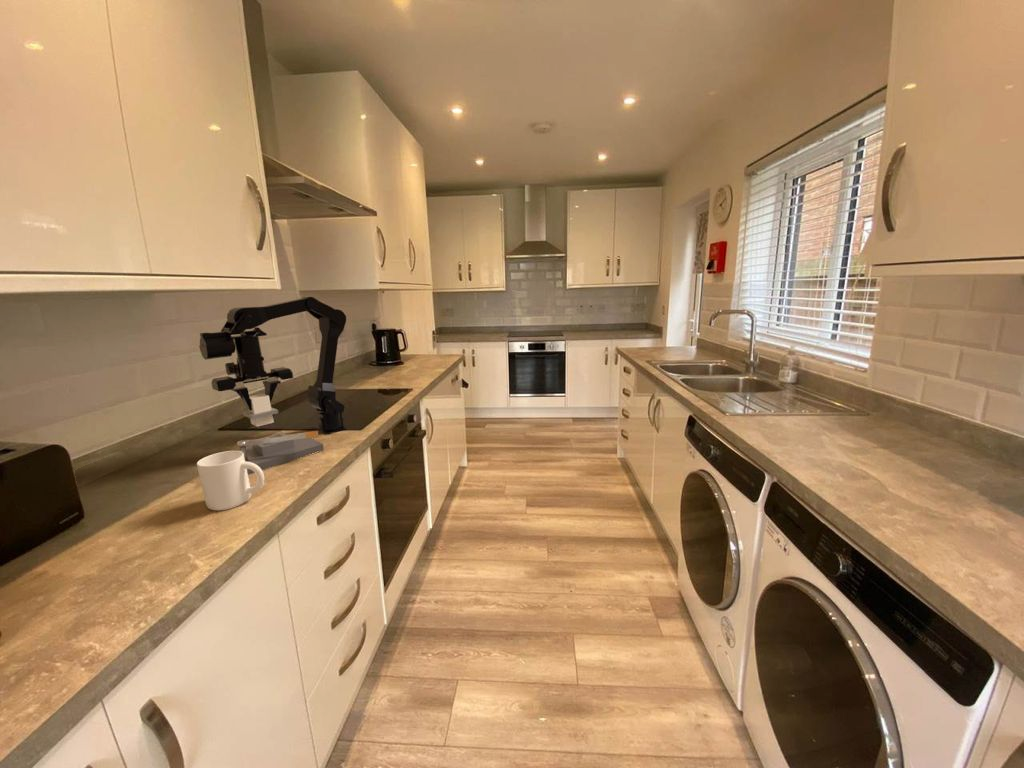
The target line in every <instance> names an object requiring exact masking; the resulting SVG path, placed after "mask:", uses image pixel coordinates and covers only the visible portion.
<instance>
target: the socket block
mask: <svg viewBox="0 0 1024 768" xmlns="http://www.w3.org/2000/svg"><path fill="white" fill-rule="evenodd" d="M282 435H287V434H285V433H283V432H280V433H279V432H278V433H274V434H272V435H268V436H265V437H263V438H267V437H275V436H282ZM238 448H239V449H238V450H237V451H241V452H243V453H244V458H245V462H252V463H254V464H256V465H258V466H259V467H260V468H261V470H262V471H265V470H267V469H270V468H269V467H271V468H273V467H272V466H274V467H276V466H275V465H277V466H279V464H280V465H283V464H286V463H289V462H292V461H291V460H293V461H295V460H294V459H296V460H298V459H297V458H299V459H301V458H300V457H302V458H304V457H303V456H305V455H308V456H310V455H309V454H312V453H315V452H317V451H321V450H324V451H325V449H324V443H322V442H320V441H317V439H316V440H315V439H313V437H311V438H302V439H295V440H287V441H280V442H273V443H266V444H258V445H251V446H248V447H247V446H245V447H238ZM321 452H322V451H321ZM315 454H316V453H315ZM312 455H313V454H312ZM305 457H306V456H305ZM288 461H289V462H288ZM285 462H286V463H285ZM282 463H283V464H282ZM266 468H267V469H266ZM247 473H248V476H250V475H252V474H255V473H254V471H252V470H251V469H247Z"/></svg>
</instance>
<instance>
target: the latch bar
mask: <svg viewBox="0 0 1024 768" xmlns="http://www.w3.org/2000/svg"><path fill="white" fill-rule="evenodd" d="M266 437H267V438H264V437H261V438H256V439H255V438H254V439H243V440H242V439H241V440H239V441H237V442H236V445H237V448H239V447H245V446H246V447H252V445H258V444H266V443H273V442H280V441H287V440H295V439H302V438H317V437H319V430H312V431H305V432H300V433H299V432H298V433H290V434H286V435H282V436H275V437H268V436H266Z"/></svg>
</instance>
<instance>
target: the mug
mask: <svg viewBox="0 0 1024 768" xmlns="http://www.w3.org/2000/svg"><path fill="white" fill-rule="evenodd" d="M196 467H197V471H198V476H199V479H200V484H201V489H202V494H203V498H204V501H205V505H206V508H208V509H209V510H210V511H211V510H212V511H216V512H217V511H225V510H230V509H234V508H237V507H238V506H241V505H243V504H245V503H246V502H247V501H248V500H249V499H250V498H251V496H252V494H254V493H257V492H258V491H260V490H261V489H262V487H263V486H264V483H265V474H264V470H261V468H260V467H259V466H258V465H256V464H254V463H252V462H245V458H244V453H243V452H241V451H238V450H227V451H221V452H217V453H216V452H215V453H212V454H210V455H207V456H204V457H203V458H201V459H199V460H198V461H197V462H196ZM247 469H251V470H252V471H254V472H255V473H254V474H255V475H256V477H257V482H256V484H255V485H254V486H251V484H250V480H249V479H250V478H249V475H248V473H247Z"/></svg>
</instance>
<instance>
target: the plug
mask: <svg viewBox="0 0 1024 768" xmlns="http://www.w3.org/2000/svg"><path fill="white" fill-rule="evenodd" d="M249 397H250V401H251V407H252V410H249V409H248V408H247V410H244V411H242V415H243V416H245V417H246V418H248V419H249V420H250V424H251V425H253V426H255V427H260V426H264V425H265V426H266V425H269V424H272V423H274V422H275V421H274V417H273V415H276V414H279V409H277V408H274V407H272V405H271V404H272V403H271V404H270V399H269V395H266V394H265V393H258V394H254V395H249Z"/></svg>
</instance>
